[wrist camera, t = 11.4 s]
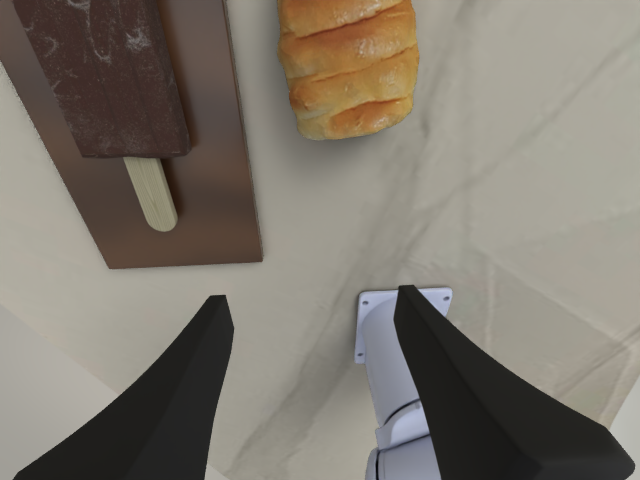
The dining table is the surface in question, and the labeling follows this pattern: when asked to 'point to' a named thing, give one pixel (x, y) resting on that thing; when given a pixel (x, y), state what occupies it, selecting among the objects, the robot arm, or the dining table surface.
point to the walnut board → (180, 172)
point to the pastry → (348, 64)
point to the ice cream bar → (114, 87)
